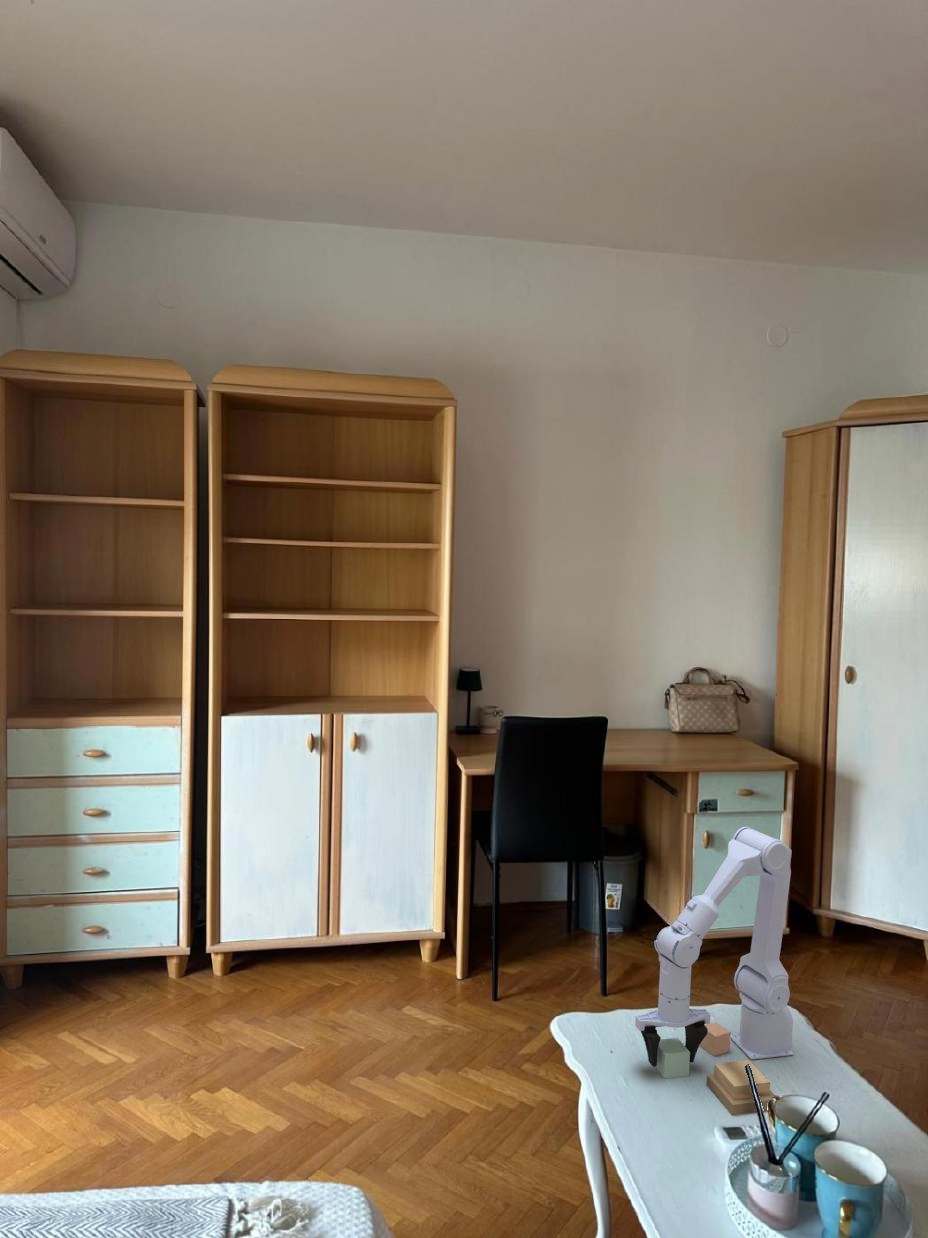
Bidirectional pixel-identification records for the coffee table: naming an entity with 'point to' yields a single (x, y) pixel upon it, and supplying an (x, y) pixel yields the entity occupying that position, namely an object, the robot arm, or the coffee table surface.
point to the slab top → (740, 1079)
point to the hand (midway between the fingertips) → (670, 1061)
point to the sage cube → (672, 1058)
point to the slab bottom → (735, 1104)
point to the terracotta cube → (716, 1039)
